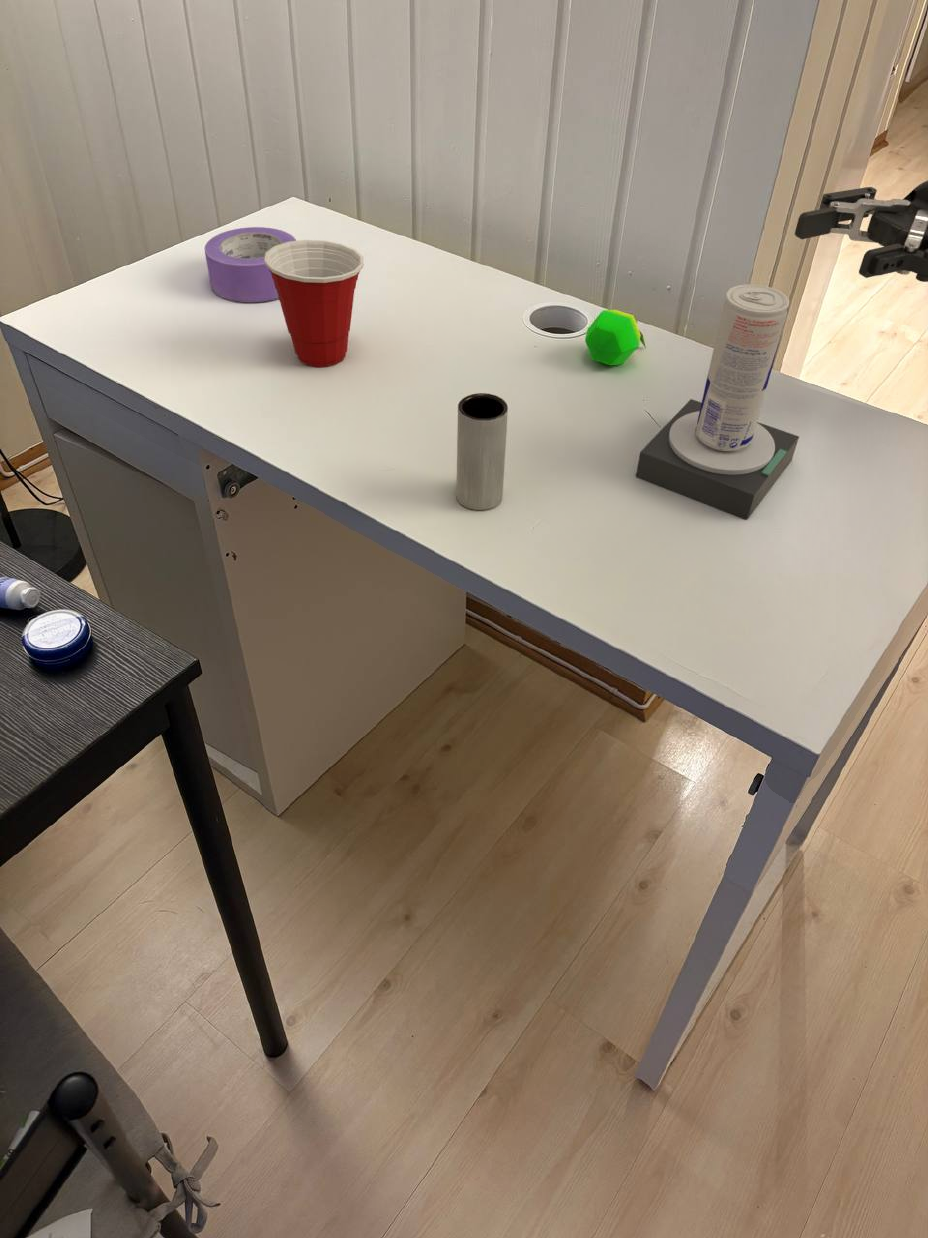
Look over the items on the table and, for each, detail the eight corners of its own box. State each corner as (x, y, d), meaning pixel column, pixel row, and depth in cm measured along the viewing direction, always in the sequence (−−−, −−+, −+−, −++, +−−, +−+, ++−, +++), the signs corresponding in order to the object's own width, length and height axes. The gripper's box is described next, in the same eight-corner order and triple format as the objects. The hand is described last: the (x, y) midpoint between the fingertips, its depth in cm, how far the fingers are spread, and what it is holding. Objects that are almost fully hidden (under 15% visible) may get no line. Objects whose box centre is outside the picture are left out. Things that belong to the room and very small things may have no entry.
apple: (606, 313, 105) (641, 281, 111) (564, 335, 110) (600, 303, 115) (637, 368, 107) (670, 335, 113) (595, 388, 112) (629, 355, 118)
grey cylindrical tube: (502, 511, 92) (508, 420, 85) (455, 510, 92) (457, 419, 85) (502, 483, 95) (507, 393, 88) (456, 482, 95) (458, 391, 88)
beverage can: (762, 448, 94) (803, 305, 84) (713, 459, 93) (749, 315, 82) (731, 418, 98) (766, 277, 87) (683, 428, 96) (714, 287, 86)
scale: (791, 460, 99) (801, 431, 96) (747, 520, 92) (755, 490, 89) (685, 422, 104) (692, 393, 101) (635, 476, 97) (640, 446, 94)
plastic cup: (387, 358, 112) (383, 259, 103) (310, 388, 107) (299, 286, 98) (335, 322, 118) (327, 225, 109) (259, 350, 113) (245, 250, 104)
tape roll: (210, 265, 128) (204, 228, 125) (298, 259, 130) (294, 223, 126) (210, 306, 120) (203, 267, 117) (304, 300, 122) (300, 262, 118)
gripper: (923, 148, 92) (789, 173, 86) (1044, 203, 83) (903, 234, 77) (896, 226, 97) (769, 254, 92) (1008, 285, 88) (873, 320, 83)
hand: (830, 245), depth 84 cm, fingers open, 8 cm apart
